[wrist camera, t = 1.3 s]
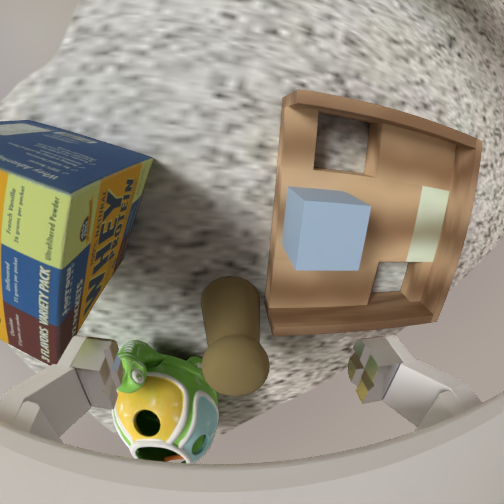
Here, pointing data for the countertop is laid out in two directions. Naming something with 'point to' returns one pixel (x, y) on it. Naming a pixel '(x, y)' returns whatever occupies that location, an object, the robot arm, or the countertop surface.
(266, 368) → the cork
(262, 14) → the countertop surface
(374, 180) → the tray
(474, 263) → the countertop surface
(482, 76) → the countertop surface
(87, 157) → the protein box
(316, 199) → the slate block
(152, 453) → the turtle holder
